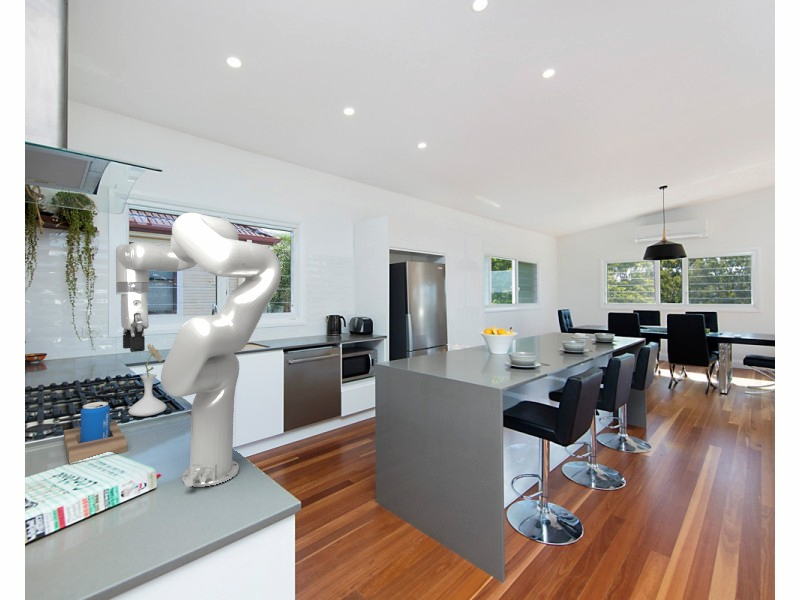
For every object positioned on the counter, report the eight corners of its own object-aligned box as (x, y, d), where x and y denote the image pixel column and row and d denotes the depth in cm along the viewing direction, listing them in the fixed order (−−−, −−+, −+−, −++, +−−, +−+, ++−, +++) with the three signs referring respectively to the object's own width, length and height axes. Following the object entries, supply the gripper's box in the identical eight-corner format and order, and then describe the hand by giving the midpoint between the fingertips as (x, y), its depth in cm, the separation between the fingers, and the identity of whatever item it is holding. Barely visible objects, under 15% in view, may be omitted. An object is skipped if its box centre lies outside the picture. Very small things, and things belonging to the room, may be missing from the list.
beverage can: (96, 451, 102) (97, 409, 102) (73, 450, 102) (74, 407, 102) (115, 442, 108) (115, 401, 108) (93, 440, 109) (94, 400, 108)
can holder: (126, 451, 103) (126, 441, 103) (69, 465, 94) (69, 453, 94) (114, 430, 117) (114, 421, 117) (63, 440, 108) (63, 430, 108)
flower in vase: (166, 416, 131) (167, 346, 130) (126, 421, 125) (128, 348, 124) (166, 405, 142) (168, 341, 141) (130, 409, 136) (131, 342, 135)
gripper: (156, 288, 100) (157, 351, 100) (141, 289, 112) (142, 345, 112) (122, 288, 95) (123, 354, 95) (110, 289, 107) (111, 348, 107)
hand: (133, 349), depth 103 cm, fingers open, 9 cm apart
